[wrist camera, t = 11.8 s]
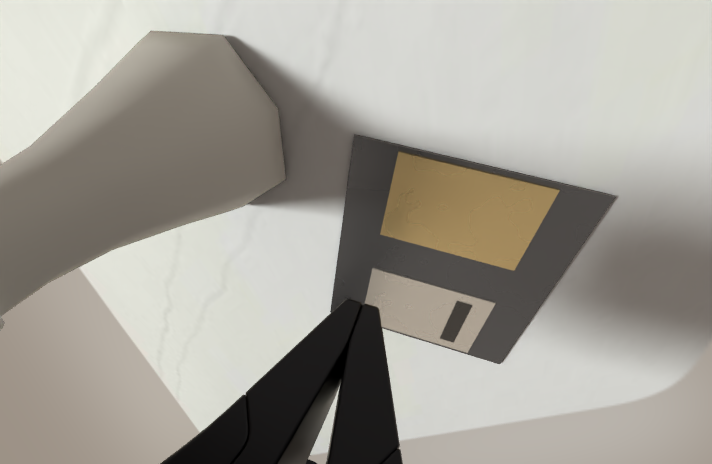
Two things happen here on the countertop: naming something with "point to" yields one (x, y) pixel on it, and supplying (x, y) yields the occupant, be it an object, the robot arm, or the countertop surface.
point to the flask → (137, 160)
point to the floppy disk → (455, 245)
